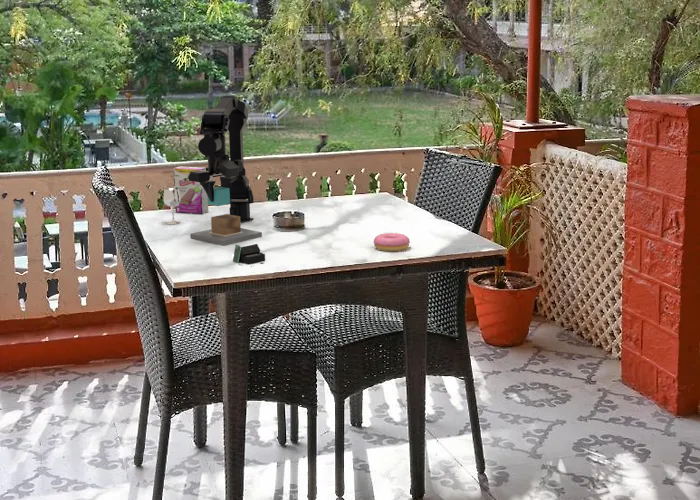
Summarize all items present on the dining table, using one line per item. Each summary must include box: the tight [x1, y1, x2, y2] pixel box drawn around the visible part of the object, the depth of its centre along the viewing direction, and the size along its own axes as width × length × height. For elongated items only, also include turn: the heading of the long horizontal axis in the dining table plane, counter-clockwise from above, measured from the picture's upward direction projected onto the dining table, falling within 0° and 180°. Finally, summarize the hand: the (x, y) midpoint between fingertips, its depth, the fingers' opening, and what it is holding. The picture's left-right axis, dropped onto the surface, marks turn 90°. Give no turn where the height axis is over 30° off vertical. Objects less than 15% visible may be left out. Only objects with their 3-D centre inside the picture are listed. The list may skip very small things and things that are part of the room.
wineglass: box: [163, 187, 181, 225], centre depth 325 cm, size 6×6×12 cm
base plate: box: [189, 227, 263, 247], centre depth 303 cm, size 16×16×2 cm
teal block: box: [207, 186, 230, 207], centre depth 301 cm, size 5×5×5 cm
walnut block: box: [210, 213, 242, 235], centre depth 303 cm, size 6×6×5 cm
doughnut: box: [373, 232, 411, 252], centre depth 287 cm, size 11×11×4 cm
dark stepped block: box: [231, 243, 266, 268], centre depth 273 cm, size 15×15×6 cm
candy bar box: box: [172, 165, 209, 215], centre depth 342 cm, size 11×5×16 cm, turn 71°
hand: (218, 200), depth 301 cm, fingers closed on teal block, 5 cm apart
